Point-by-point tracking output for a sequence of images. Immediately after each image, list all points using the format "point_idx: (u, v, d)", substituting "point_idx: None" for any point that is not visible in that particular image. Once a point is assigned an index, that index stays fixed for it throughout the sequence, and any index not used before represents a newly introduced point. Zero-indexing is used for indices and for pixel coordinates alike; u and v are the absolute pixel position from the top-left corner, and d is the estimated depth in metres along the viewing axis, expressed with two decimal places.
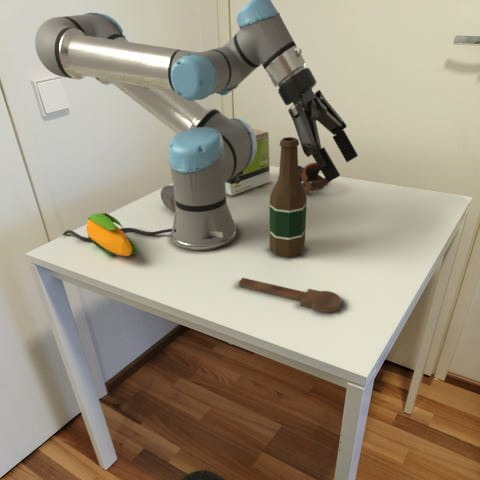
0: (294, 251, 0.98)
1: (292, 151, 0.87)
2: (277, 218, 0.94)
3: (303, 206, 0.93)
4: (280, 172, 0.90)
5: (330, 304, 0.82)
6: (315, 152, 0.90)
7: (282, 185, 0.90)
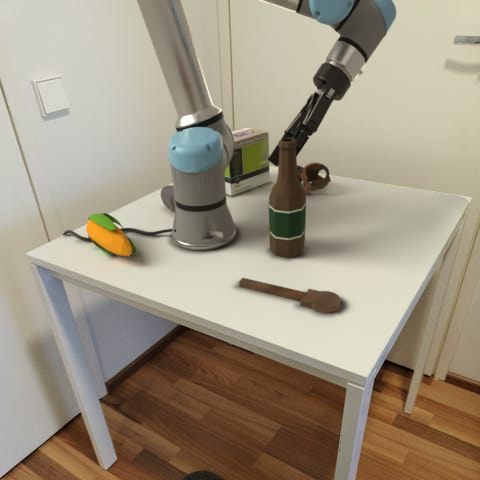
0: (294, 251, 0.98)
1: (290, 152, 0.86)
2: (276, 218, 0.93)
3: (302, 206, 0.93)
4: (279, 173, 0.90)
5: (330, 304, 0.82)
6: (306, 132, 0.88)
7: (281, 186, 0.90)
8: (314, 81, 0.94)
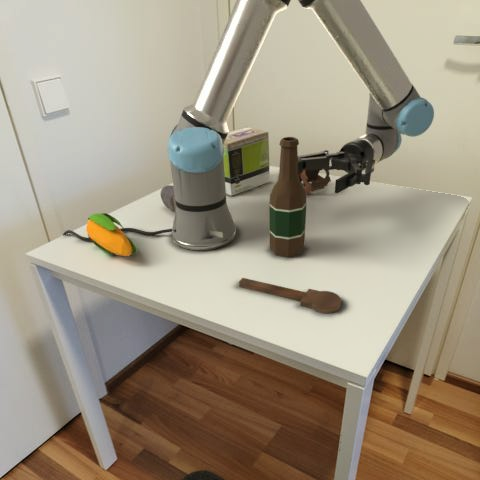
0: (294, 251, 0.98)
1: (292, 151, 0.87)
2: (276, 217, 0.94)
3: (303, 206, 0.93)
4: (280, 171, 0.91)
5: (330, 304, 0.82)
6: (360, 179, 0.97)
7: (282, 185, 0.91)
8: (350, 145, 1.06)
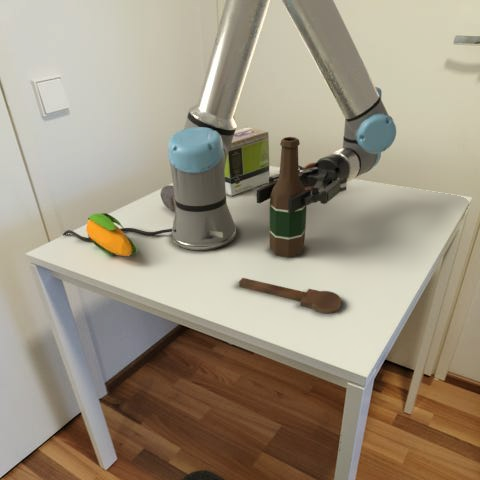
0: (294, 251, 0.98)
1: (293, 151, 0.87)
2: (277, 217, 0.94)
3: (303, 206, 0.93)
4: (280, 172, 0.90)
5: (330, 304, 0.82)
6: (316, 198, 0.91)
7: (283, 185, 0.90)
8: (324, 161, 1.00)
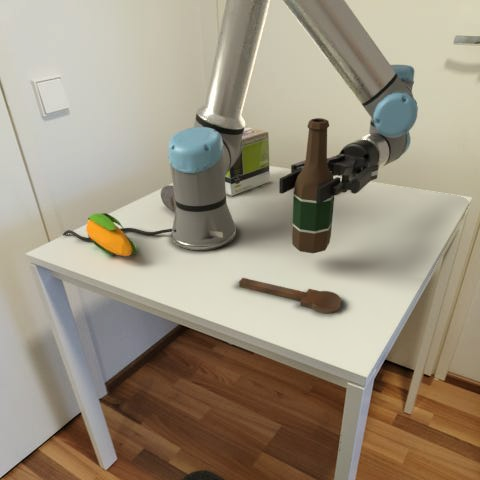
0: (320, 246, 0.89)
1: (322, 134, 0.78)
2: (302, 209, 0.84)
3: None
4: (307, 158, 0.81)
5: (330, 304, 0.82)
6: (346, 187, 0.82)
7: (309, 172, 0.81)
8: (352, 147, 0.91)
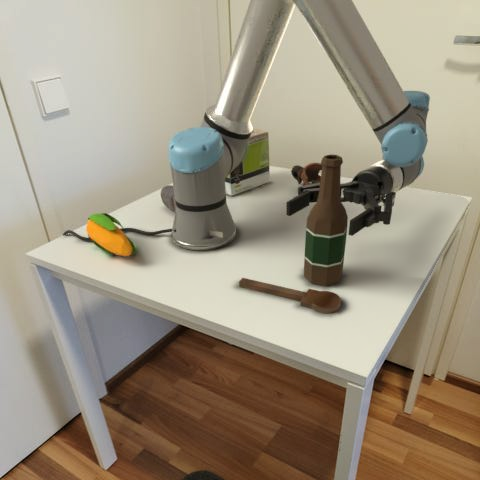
0: (332, 279, 0.88)
1: (335, 170, 0.77)
2: (314, 243, 0.84)
3: (344, 230, 0.83)
4: (320, 193, 0.81)
5: (330, 304, 0.82)
6: (378, 218, 0.81)
7: (322, 208, 0.81)
8: (366, 174, 0.90)
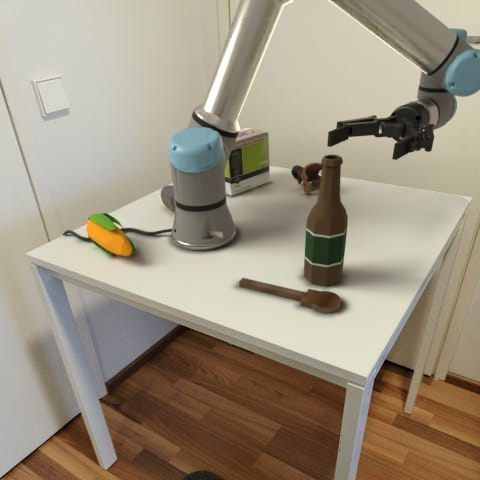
0: (332, 279, 0.88)
1: (335, 170, 0.77)
2: (314, 243, 0.84)
3: (344, 230, 0.83)
4: (320, 193, 0.81)
5: (330, 304, 0.82)
6: (420, 145, 0.82)
7: (322, 208, 0.81)
8: (404, 109, 0.91)
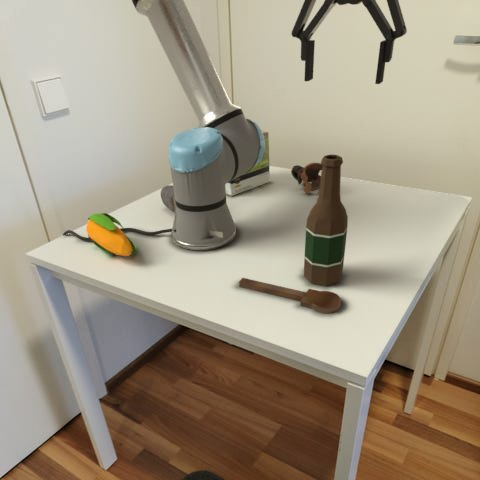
0: (332, 279, 0.88)
1: (335, 170, 0.77)
2: (314, 243, 0.84)
3: (344, 230, 0.83)
4: (320, 193, 0.81)
5: (330, 304, 0.82)
6: None
7: (322, 208, 0.81)
8: None
